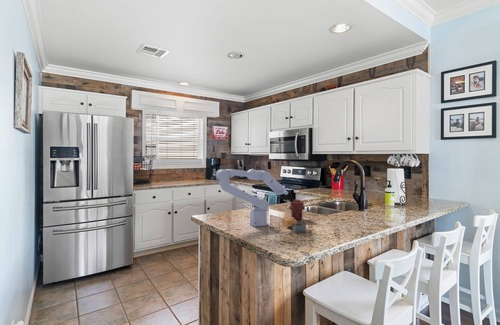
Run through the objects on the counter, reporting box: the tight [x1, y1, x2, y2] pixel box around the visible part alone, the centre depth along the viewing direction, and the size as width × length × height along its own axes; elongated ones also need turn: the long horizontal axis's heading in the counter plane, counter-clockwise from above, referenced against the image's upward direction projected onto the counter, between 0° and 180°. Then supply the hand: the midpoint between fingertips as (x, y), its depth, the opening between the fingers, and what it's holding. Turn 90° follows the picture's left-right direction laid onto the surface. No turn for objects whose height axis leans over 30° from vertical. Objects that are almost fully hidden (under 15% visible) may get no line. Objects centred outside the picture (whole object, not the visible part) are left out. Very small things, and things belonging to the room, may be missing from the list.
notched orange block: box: [281, 217, 297, 229], centre depth 155 cm, size 6×6×4 cm
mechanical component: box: [288, 199, 306, 221], centre depth 173 cm, size 12×10×10 cm
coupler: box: [289, 221, 307, 234], centre depth 147 cm, size 6×10×5 cm, turn 19°
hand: (290, 200), depth 165 cm, fingers open, 7 cm apart
